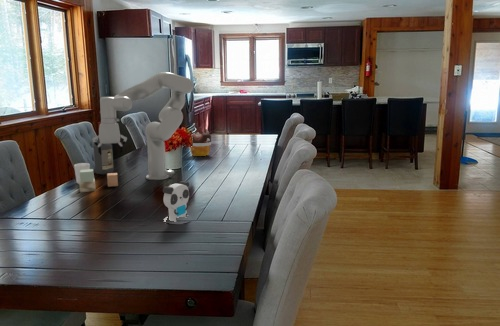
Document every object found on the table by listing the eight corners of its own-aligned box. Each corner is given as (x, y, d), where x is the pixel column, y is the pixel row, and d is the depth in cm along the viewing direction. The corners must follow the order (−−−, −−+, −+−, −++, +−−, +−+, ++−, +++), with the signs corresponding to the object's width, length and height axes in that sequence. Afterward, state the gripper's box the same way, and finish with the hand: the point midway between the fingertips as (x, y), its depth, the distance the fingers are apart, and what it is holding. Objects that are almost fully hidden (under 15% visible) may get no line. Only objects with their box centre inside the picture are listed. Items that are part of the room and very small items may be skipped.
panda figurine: (177, 227, 160) (176, 189, 157) (156, 222, 166) (154, 185, 163) (197, 218, 170) (197, 182, 167) (176, 213, 176) (175, 179, 173)
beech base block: (95, 187, 217) (94, 178, 216) (94, 191, 210) (94, 181, 209) (80, 188, 215) (80, 179, 214) (79, 192, 208) (79, 182, 207)
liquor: (92, 173, 248) (89, 122, 242) (103, 170, 256) (100, 121, 250) (105, 174, 244) (101, 123, 238) (115, 171, 253) (112, 121, 247)
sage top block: (93, 178, 215) (93, 169, 214) (93, 181, 210) (92, 171, 209) (81, 179, 213) (80, 169, 212) (80, 182, 208) (79, 172, 207)
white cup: (85, 184, 222) (84, 166, 220) (72, 183, 224) (71, 165, 222) (94, 181, 230) (92, 163, 228) (81, 180, 231) (79, 162, 229)
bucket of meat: (210, 158, 296) (210, 130, 292) (187, 158, 296) (186, 129, 292) (212, 153, 316) (212, 126, 312) (190, 152, 315) (189, 126, 311)
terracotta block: (117, 183, 225) (117, 172, 224) (117, 186, 220) (117, 174, 219) (108, 184, 223) (107, 173, 222) (107, 186, 219) (107, 175, 217)
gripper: (126, 120, 221) (127, 152, 224) (91, 120, 216) (93, 153, 219) (126, 121, 214) (128, 154, 217) (90, 122, 209) (92, 156, 212)
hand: (110, 154), depth 218 cm, fingers open, 9 cm apart
